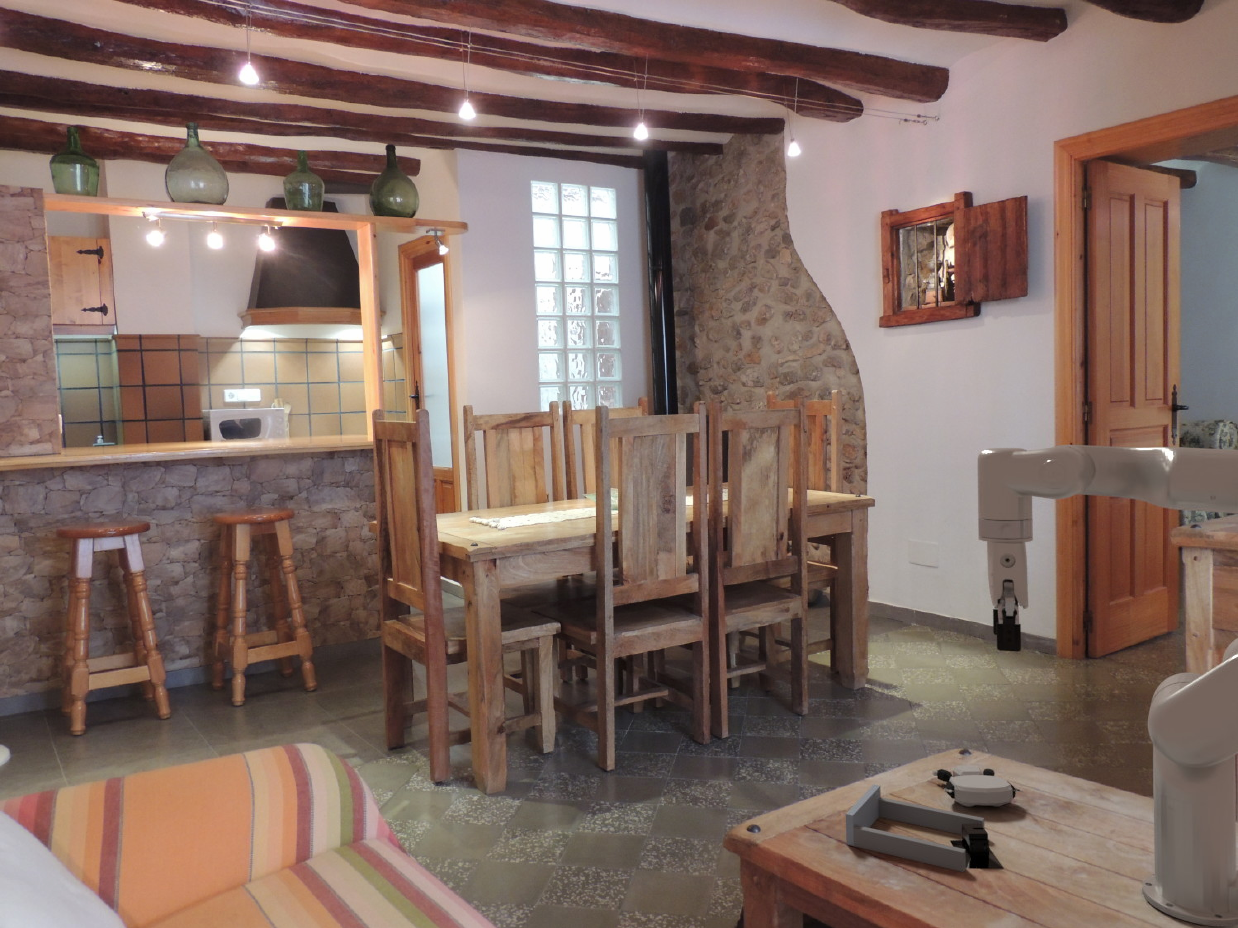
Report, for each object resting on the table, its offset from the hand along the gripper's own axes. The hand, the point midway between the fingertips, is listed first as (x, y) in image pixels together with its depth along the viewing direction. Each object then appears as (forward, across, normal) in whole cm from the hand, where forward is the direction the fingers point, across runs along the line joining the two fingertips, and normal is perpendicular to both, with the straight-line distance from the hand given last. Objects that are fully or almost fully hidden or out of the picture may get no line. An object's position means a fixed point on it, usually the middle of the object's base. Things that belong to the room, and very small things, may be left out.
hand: (1006, 642), depth 136 cm
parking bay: (+34, +3, +13) cm, 37 cm away
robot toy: (+34, +24, +4) cm, 42 cm away
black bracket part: (+35, +1, +5) cm, 35 cm away
